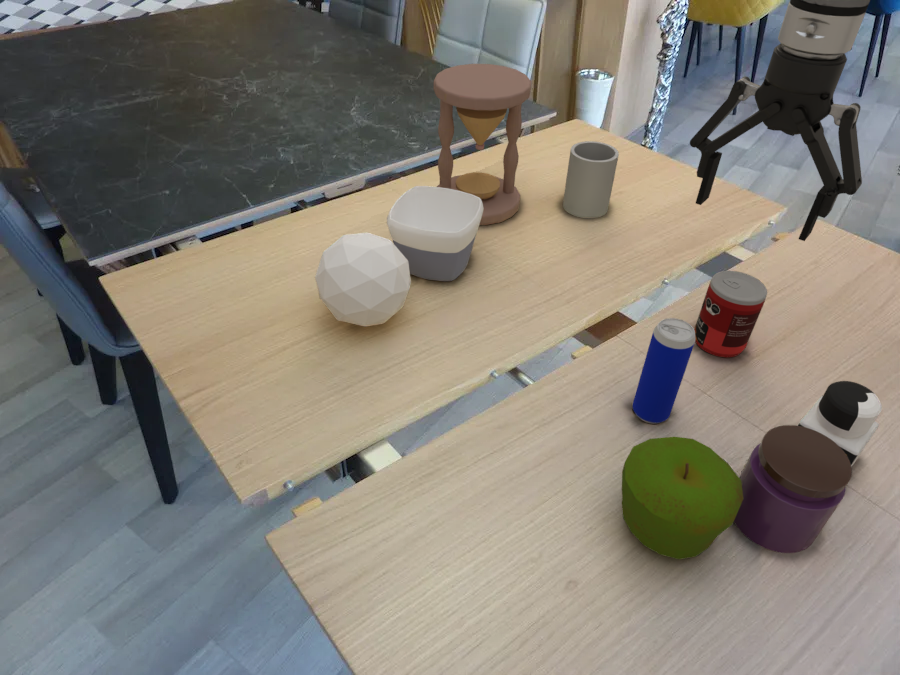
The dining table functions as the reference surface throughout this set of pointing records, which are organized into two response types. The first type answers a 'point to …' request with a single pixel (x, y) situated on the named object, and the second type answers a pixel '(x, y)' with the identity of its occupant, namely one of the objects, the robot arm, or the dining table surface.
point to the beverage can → (663, 369)
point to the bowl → (435, 230)
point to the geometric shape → (363, 279)
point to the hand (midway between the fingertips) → (751, 217)
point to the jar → (791, 488)
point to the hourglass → (482, 130)
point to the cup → (590, 179)
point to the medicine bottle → (845, 416)
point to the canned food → (729, 313)
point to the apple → (678, 495)
